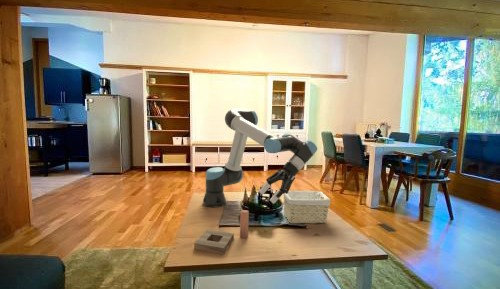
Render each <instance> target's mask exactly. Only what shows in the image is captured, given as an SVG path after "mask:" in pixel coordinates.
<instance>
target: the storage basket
mask: <svg viewBox="0 0 500 289" xmlns="http://www.w3.org/2000/svg"><path fill="white" fill-rule="evenodd" d="M330 206H331V199H330V197H328V196H327V195H326V194H325V193H323V191H317V190H289V191H288V193H287V194H286V193H284V194H283V214H284V216H285V218H286V217H287V218H286V219H288V220H287V222H288V223H289V222H290V223H289V224H326V223H327V217H328V213H329V208H330Z"/></svg>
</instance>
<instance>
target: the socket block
mask: <svg viewBox="0 0 500 289" xmlns="http://www.w3.org/2000/svg"><path fill="white" fill-rule="evenodd" d="M234 240H235V233H233V232H227V231H222V230H221V231H220V230H214V229H206V230H205V231H204V232H203V233H202V234H201V235H200V236H199V237H198V239H196V240H195V242H194V243H193V245H194V246H193V248H194V249H193V250H195V251H202V252H208V253H213V254H218V255H225V254H226V252H227V250H228V249H229V247H230V246H231V245H232V242H233V241H234Z"/></svg>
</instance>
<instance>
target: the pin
mask: <svg viewBox="0 0 500 289" xmlns="http://www.w3.org/2000/svg"><path fill="white" fill-rule="evenodd" d="M249 215H250V212H249V210H247V209H246V210H245V209H244V210H243V209H242V210H241V211H240V217H239V218H240V220H239V237H240V239H243V240H244V239H248V238H249Z"/></svg>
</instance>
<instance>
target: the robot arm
mask: <svg viewBox="0 0 500 289" xmlns="http://www.w3.org/2000/svg"><path fill="white" fill-rule="evenodd" d="M258 118H259V117H258V115H257V113H256V111H255V110H253V109H250V108H249V109H248V108H231V109H230V110H229V111H228V110H227V112H226V113H225V116H224V122H225V124H226V126H227V127H228V128H229V129H231V130H233V131H235V132H234V136H233V140H232V142H231V143H232V144H231V147H230V152H229V156H228V161H227V162H226V163H225V164H224V168H223V167H220V166H217V167H211V168H209V169H208V168H207V170H206V171H205V193H204V196H203V198H202V199H203V200H202V205H204V207H208V208H221V207H224V206H225V205H226V204H227V203H226V202H227V199H226V195H225V193H224V189H225V188H224V187H227V186H231V185H236V184H238V183H240V182H241V181H242V180H243V178H244V173H243V169H242V165H241V163H242V160H243V155H244V152H245V149H246V144H247V140H248V138H249V139H251V140H252V141H254V142H256V143H257V144H259V145H261V146H263V148H264V149H265V151H266V152H267V153H268V154H278V153H283V152H291V153H293V155H292V156H291V157H290V158H289V159H288V161H287V162H285V164H284V165H283V169H281V168H279V169H278V170H277V171H276V172H274V173H273V174H272V175H270V176H269V177H267V178H266V179H265V181H266V182H265V183H264V185H263V186H262V187H261V188H260V189H259V190H258V193H259V194H261V196H263V195H264V194H265V193H266V192H267V191H268V189H269V188H270V187H271V186H272V185H273V184H274V183H275V184H276V182H278V181H281V184H280V188H279V189H277V191H276V192H274V194H273V196H272V197H271V198H270V199H269V201H270V202H271V203H272V205H274V204H275V203H276V202H277V201H278V200H279V199H280V198H281V196H283V195H284V193H286V194H287V193H288V191H290V189H291V187H292V184H293V182H294V181H295V179H296V177H295V176H297V174H298V173H299V172H300V171H301V170H302V169H303V167H304V166H305V165H306V164H307V163H308V162H309V161H310V159H311V158H312V157H313V156H314V155H315V154H316V153H317V151H318V147H317V145H316V144H315V142H313V141H311V140H309V139H307V140H305V141H301V140H300V139H299V138H297V137H296V136H294V135H292V134H291V133H284V134H283V135H281V137H278V136H276V135H273V134H272V133H270V132H269V131H266V130H265V129H263V128H261V127H259V126H258V123H259V119H258Z"/></svg>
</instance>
